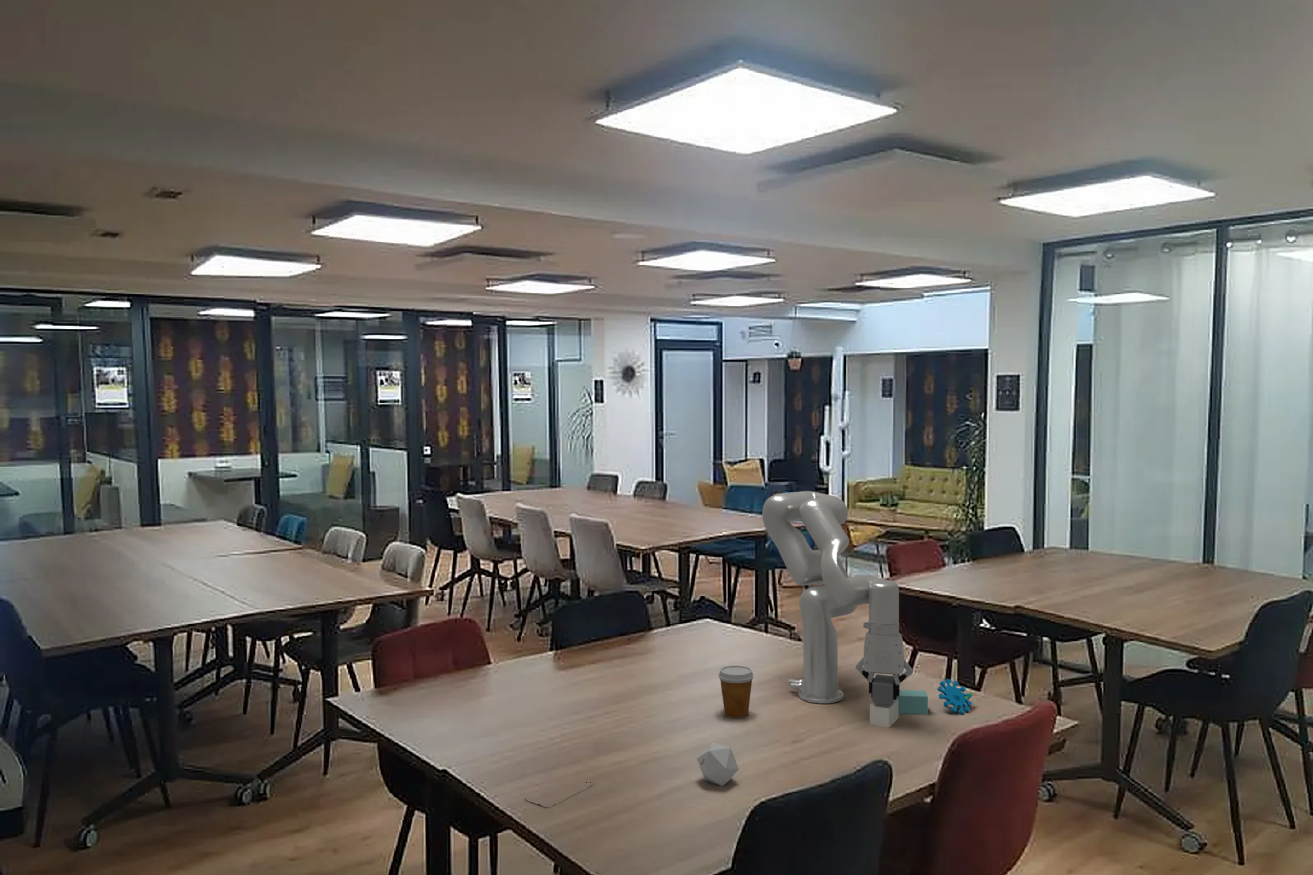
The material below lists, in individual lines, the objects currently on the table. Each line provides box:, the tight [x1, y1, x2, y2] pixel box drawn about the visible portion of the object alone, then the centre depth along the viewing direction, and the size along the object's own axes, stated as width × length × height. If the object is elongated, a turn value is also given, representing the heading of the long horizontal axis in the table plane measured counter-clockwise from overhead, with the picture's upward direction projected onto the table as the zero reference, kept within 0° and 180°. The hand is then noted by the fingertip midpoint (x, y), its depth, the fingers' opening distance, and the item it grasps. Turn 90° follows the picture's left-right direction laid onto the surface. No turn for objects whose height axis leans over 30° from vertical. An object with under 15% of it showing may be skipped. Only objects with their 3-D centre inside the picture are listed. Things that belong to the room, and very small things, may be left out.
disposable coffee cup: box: [717, 665, 755, 719], centre depth 242 cm, size 10×10×12 cm
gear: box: [936, 678, 974, 715], centre depth 245 cm, size 11×6×10 cm
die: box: [696, 742, 740, 787], centre depth 201 cm, size 8×9×10 cm
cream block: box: [869, 700, 899, 729], centre depth 236 cm, size 8×5×5 cm, turn 148°
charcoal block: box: [871, 673, 895, 705], centre depth 236 cm, size 8×5×5 cm, turn 159°
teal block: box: [896, 689, 929, 716], centre depth 243 cm, size 8×5×5 cm, turn 82°
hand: (884, 696), depth 236 cm, fingers closed on charcoal block, 5 cm apart
